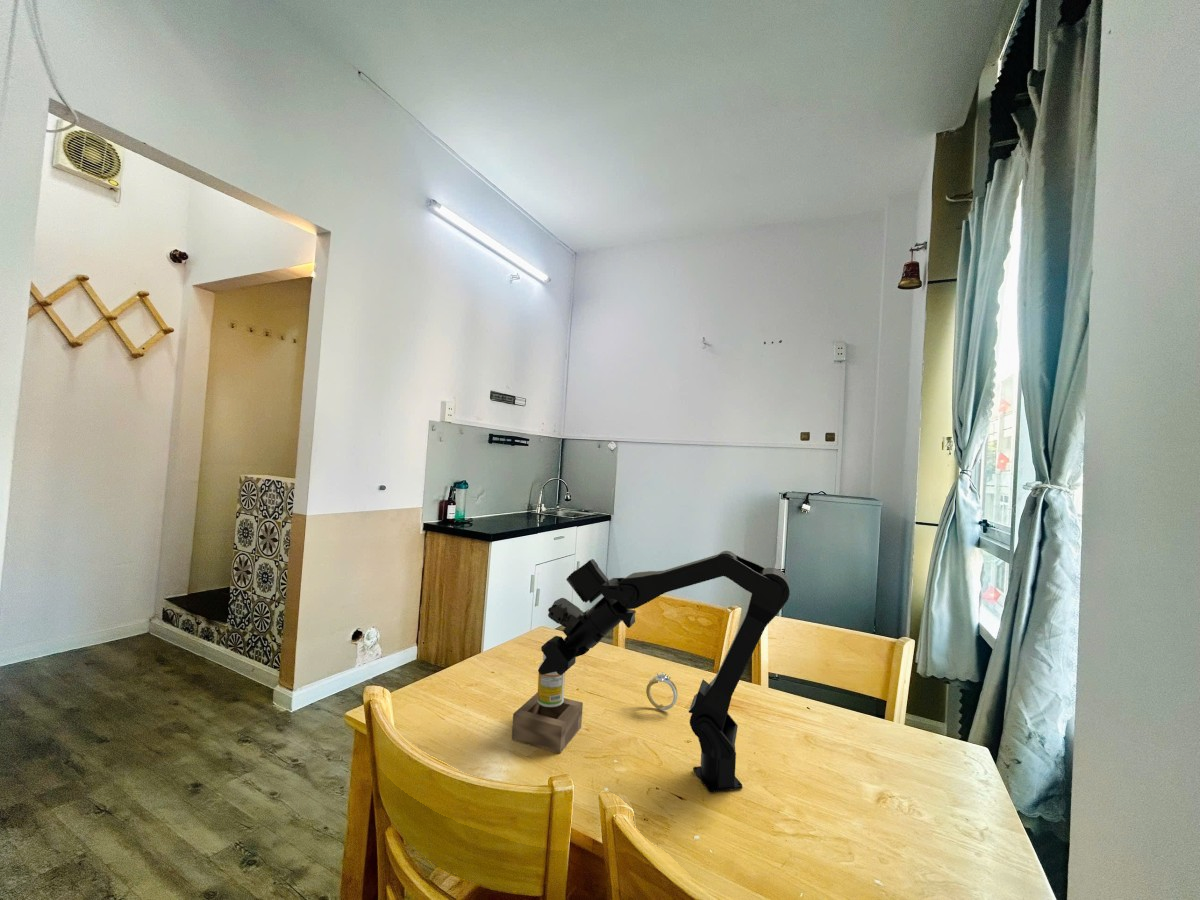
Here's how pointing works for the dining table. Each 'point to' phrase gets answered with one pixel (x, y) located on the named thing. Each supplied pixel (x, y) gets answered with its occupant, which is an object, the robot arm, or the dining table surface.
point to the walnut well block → (547, 724)
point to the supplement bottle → (550, 688)
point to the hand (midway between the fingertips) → (546, 667)
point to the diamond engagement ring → (667, 680)
